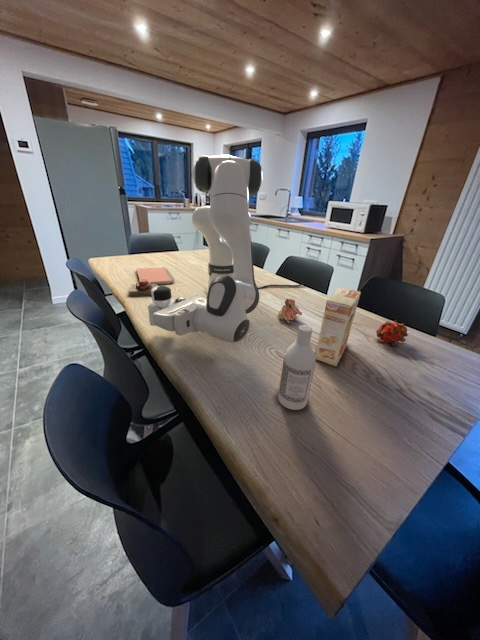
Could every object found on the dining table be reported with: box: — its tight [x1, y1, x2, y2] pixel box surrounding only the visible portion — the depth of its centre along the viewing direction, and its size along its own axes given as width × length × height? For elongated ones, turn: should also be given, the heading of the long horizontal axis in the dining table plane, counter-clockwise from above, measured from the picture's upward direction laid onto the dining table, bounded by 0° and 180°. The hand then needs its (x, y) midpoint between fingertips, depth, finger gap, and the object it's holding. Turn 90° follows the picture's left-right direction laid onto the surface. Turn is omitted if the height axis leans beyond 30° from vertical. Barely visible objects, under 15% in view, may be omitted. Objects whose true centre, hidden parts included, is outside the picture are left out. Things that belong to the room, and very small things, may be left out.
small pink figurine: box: [277, 297, 303, 324], centre depth 105 cm, size 9×10×10 cm
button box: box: [128, 281, 159, 297], centre depth 125 cm, size 12×10×4 cm
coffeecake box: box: [314, 287, 362, 367], centre depth 81 cm, size 15×7×20 cm, turn 148°
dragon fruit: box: [375, 320, 408, 346], centre depth 92 cm, size 8×8×12 cm
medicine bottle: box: [147, 285, 176, 327], centre depth 86 cm, size 7×7×12 cm
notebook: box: [136, 266, 175, 285], centre depth 146 cm, size 27×17×2 cm, turn 24°
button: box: [138, 279, 148, 285], centre depth 123 cm, size 4×4×2 cm
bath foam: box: [277, 324, 316, 411], centre depth 60 cm, size 7×7×20 cm
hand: (166, 304), depth 86 cm, fingers closed on medicine bottle, 8 cm apart
